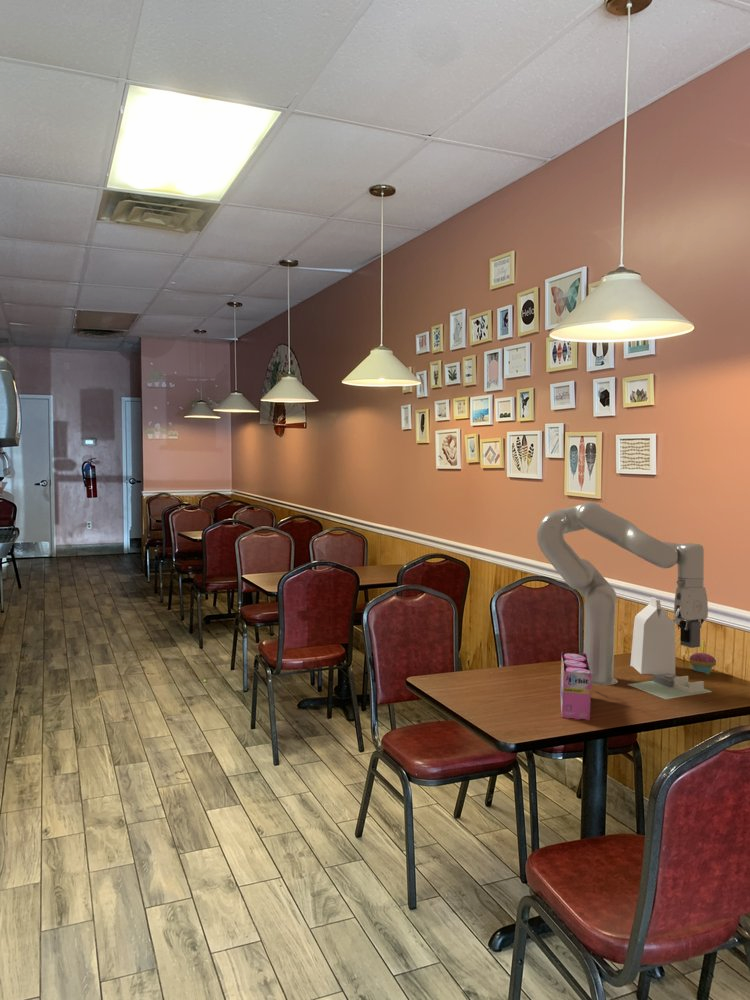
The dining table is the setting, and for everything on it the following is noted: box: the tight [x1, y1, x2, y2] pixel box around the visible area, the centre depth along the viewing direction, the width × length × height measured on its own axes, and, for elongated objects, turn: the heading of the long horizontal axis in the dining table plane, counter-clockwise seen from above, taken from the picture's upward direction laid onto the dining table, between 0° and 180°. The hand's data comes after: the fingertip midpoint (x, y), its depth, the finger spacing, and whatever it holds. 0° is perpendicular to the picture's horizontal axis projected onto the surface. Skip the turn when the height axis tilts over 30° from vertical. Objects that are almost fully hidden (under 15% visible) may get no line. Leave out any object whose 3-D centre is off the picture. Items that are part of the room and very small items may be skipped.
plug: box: [679, 620, 701, 649], centre depth 234 cm, size 4×5×8 cm
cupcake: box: [689, 639, 717, 675], centre depth 257 cm, size 9×8×12 cm
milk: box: [629, 596, 676, 675], centre depth 256 cm, size 12×12×26 cm
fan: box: [652, 673, 680, 687], centre depth 241 cm, size 7×7×2 cm
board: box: [627, 680, 713, 700], centre depth 236 cm, size 20×16×1 cm
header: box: [674, 675, 705, 693], centre depth 235 cm, size 6×7×3 cm
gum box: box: [559, 651, 592, 721], centre depth 220 cm, size 24×8×14 cm, turn 167°
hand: (690, 640), depth 234 cm, fingers closed on plug, 3 cm apart
